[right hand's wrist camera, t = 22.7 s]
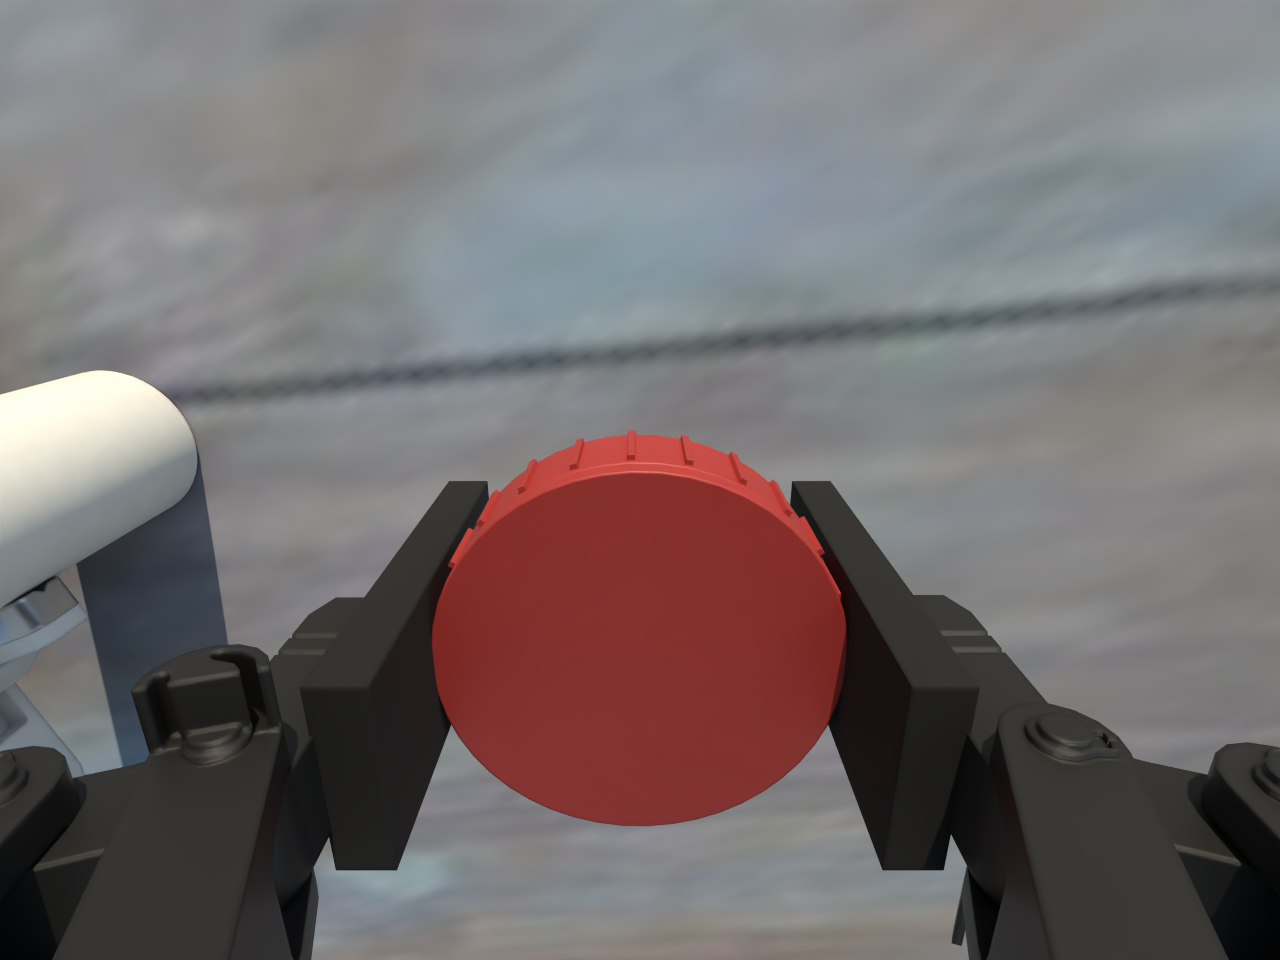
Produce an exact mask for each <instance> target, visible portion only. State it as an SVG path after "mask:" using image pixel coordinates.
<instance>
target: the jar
mask: <svg viewBox="0 0 1280 960" xmlns="http://www.w3.org/2000/svg"><path fill="white" fill-rule="evenodd" d="M196 470H197V450H196V444H195V441H194V438H193V435H192V432H191V430H190V428H189V426H188V424H187V422H186V420H185V419H184V417H183V416H182V414H181V413H180V412H179V410H178V409H177V408H176V407H175V406H174V404H173V403H172V402H171V401H170V400H169V399H168V398H166V397H165V396H164V395H163V394H162V393H161V392H159V391H158V390H156V389H155V388H154V387H152V386H150V385H149V384H147V383H145V382H143V381H141V380H139V379H137V378H134V377H132V376H129V375H125V374H122V373H117V372H112V371H90V372H85V373H81V374H77V375H73V376H69V377H65V378H62V379H58V380H54V381H50V382H46V383H43V384H39V385H35V386H31V387H28V388H24V389H20V390H16V391H12V392H9V393H5V394H1V395H0V609H1V608H2V607H4V606H5V605H7V604H9V603H10V602H12V601H14V600H15V599H17V598H19V597H20V596H22V595H24V594H26V593H28V592H29V591H31V590H33V589H34V588H36V587H37V586H39V585H41V584H42V583H44V582H46V581H47V580H49V579H51V578H53V577H54V576H56V575H58V574H59V573H61V572H63V571H65V570H66V569H68V568H70V567H71V566H73V565H75V564H76V563H78V562H80V561H81V560H83V559H85V558H86V557H88V556H90V555H91V554H93V553H95V552H96V551H98V550H100V549H101V548H103V547H105V546H107V545H108V544H110V543H112V542H113V541H115V540H117V539H118V538H120V537H122V536H123V535H125V534H127V533H128V532H130V531H132V530H133V529H135V528H137V527H138V526H140V525H142V524H144V523H145V522H147V521H149V520H150V519H152V518H154V517H155V516H157V515H159V514H160V513H162V512H164V511H165V510H167V509H169V508H170V507H172V506H174V505H175V504H176V503H178V502H179V501H180V500H181V499H182V498H183V497H184V496H185V495H186V494H187V492H188V491H189V489H190V488H191V485H192V483H193V481H194V478H195V475H196Z"/></svg>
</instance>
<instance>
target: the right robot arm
mask: <svg viewBox="0 0 1280 960" xmlns="http://www.w3.org/2000/svg"><path fill="white" fill-rule="evenodd" d="M488 500H489V495H488V483H487V481H449V482H448V484H447V485H446V486H445V488H444V489H443V490H442V492H441V493H440V495H439V496H438V497H437V499H436V500H435V501H434V503H433V504H432V505H431V507H430V508H429V510H428V511H427V512H426V514H425V515H424V516H423V518H422V519H421V521H420V522H419V523H418V525H417V526H416V527H415V529H414V530H413V532H412V533H411V534H410V536H409V537H408V538H407V540H406V541H405V543H404V544H403V545H402V547H401V548H400V549H399V551H398V552H397V553H396V555H395V556H394V558H393V559H392V560H391V562H390V563H389V564H388V566H387V567H386V569H385V570H384V571H383V573H382V574H381V575H380V577H379V578H378V580H377V581H376V582H375V584H374V585H373V586H372V588H371V589H370V591H369V592H368V593H367V595H366V596H365V597H364V598H335V599H333V600H332V601H330V602H328V603H327V604H325V605H324V606H322V607H320V608H319V609H317V610H316V611H314V612H312V613H311V614H309V615H308V616H307V618H306V619H305V620H304V621H303V622H302V624H301V625H300V626H299V627H298V628H297V630H296V631H295V632H294V633H293V634H292V638H289V639H288V640H287V641H286V643H285V644H284V645H283V646H282V647H281V649H280V650H279V654H278V655H275V656H274V657H273V658H272V659H271V661H270V662H269V658H268V655H266V654H265V653H264V652H262V651H261V650H260V649H258V648H256V647H251V646H246V645H240V644H236V645H219V646H213V647H209V648H204V649H200V650H196V651H192V652H189V653H186V654H184V655H181V656H179V657H176V658H174V659H172V660H169V661H167V662H165V663H163V664H161V665H160V666H158V667H157V668H155V669H154V670H152V671H151V672H149V673H147V674H146V675H144V676H143V677H142V678H141V680H140V681H139V682H138V683H137V684H136V685H135V686H134V687H133V688H132V689H131V693H132V696H133V700H134V703H135V706H136V710H137V713H138V716H139V720H140V723H141V726H142V730H143V733H144V736H145V740H146V743H147V746H148V750H149V753H150V754H149V756H148V758H147V760H146V762H143V763H139V764H136V765H132V766H127V767H122V768H117V769H113V770H108V771H103V772H99V773H94V774H89V775H84V776H80V777H75V778H73V777H72V774H71V772H70V769H69V766H68V763H67V760H66V757H65V756H64V755H63V754H62V753H60V752H59V751H57V750H56V749H55V748H51V747H41V746H28V747H22V748H15V749H9V750H4V751H0V960H311V956H312V948H313V940H314V932H315V924H316V915H317V907H318V899H319V897H318V889H317V882H316V877H315V873H314V868H313V867H314V865H315V863H316V861H317V859H318V857H319V855H320V853H321V851H322V849H323V847H324V845H325V843H326V841H327V839H328V837H329V838H330V843H331V848H332V853H333V858H334V863H335V868H336V870H397V869H398V866H399V863H400V861H401V858H402V855H403V853H404V850H405V847H406V844H407V842H408V839H409V836H410V834H411V831H412V828H413V826H414V823H415V820H416V818H417V815H418V812H419V810H420V807H421V804H422V802H423V799H424V796H425V794H426V791H427V788H428V786H429V783H430V780H431V778H432V775H433V772H434V769H435V767H436V764H437V761H438V759H439V756H440V753H441V751H442V748H443V745H444V743H445V740H446V737H447V735H448V732H449V729H450V727H451V723H450V721H449V719H448V718H447V715H446V713H445V710H444V708H443V705H442V703H441V700H440V698H439V695H438V691H437V684H436V676H435V668H434V659H433V650H432V626H433V621H434V617H435V613H436V608H437V604H438V601H439V598H440V596H441V593H442V591H443V588H444V585H445V583H446V580H447V578H448V576H449V575H450V573H451V571H452V569H453V568H451V567H448V565H449V563H450V561H451V559H452V557H453V555H454V553H455V552H456V550H457V548H458V546H459V544H460V543H461V541H462V539H463V537H464V535H465V534H466V532H467V530H468V528H471V529H473V530H474V528H475V526H476V525H477V524H476V523H477V521H478V519H479V517H480V515H481V513H482V511H483V510H484V508H485V506H486V504H487V502H488ZM790 506H791V507H792V509H793V510H794V512H795V513H796V514H797V516H798V517H799V518H801V517H803V516H804V517H805V519H806V520H807V522H808V524H809V526H810V527H811V529H812V531H813V533H814V535H815V536H816V538H817V540H818V542H819V544H820V545H821V547H822V549H823V551H824V554H823V555H821V556H820V557H821V558H822V559H823V561H824V563H825V564H826V566H827V568H828V570H829V572H830V574H831V575H832V577H833V579H834V581H835V583H836V585H837V587H838V588H839V590H840V592H841V595H842V599H840V601H841V604H842V607H843V610H844V614H845V620H846V627H847V633H848V644H847V653H846V663H845V671H844V679H843V686H842V691H841V695H840V698H839V701H838V704H837V707H836V709H835V711H834V713H833V715H832V717H831V719H830V721H829V723H828V725H829V728H830V730H831V733H832V736H833V738H834V741H835V744H836V747H837V749H838V752H839V755H840V757H841V760H842V763H843V765H844V768H845V771H846V773H847V776H848V779H849V781H850V784H851V787H852V789H853V792H854V795H855V797H856V800H857V803H858V806H859V808H860V811H861V814H862V816H863V819H864V822H865V824H866V827H867V830H868V832H869V835H870V838H871V840H872V843H873V846H874V848H875V851H876V854H877V856H878V859H879V862H880V864H881V867H882V870H944V866H945V861H946V856H947V851H948V846H949V841H950V836H951V835H952V837H953V839H954V841H955V843H956V845H957V847H958V849H959V851H960V853H961V855H962V857H963V859H964V860H965V862H966V864H967V868H966V873H965V877H964V882H963V887H962V891H961V896H960V901H959V905H958V910H957V915H956V919H955V924H954V930H953V937H952V943H953V944H956V945H960V946H962V942H963V937H964V933H965V930H966V938H967V946H968V954H969V960H1280V748H1278V747H1274V746H1267V745H1261V744H1254V743H1248V742H1247V743H1237V744H1227V745H1225V746H1224V747H1223V748H1221V749H1220V750H1219V751H1217V752H1216V753H1215V756H1214V758H1213V761H1212V764H1211V767H1210V770H1209V773H1208V775H1206V774H1201V773H1197V772H1192V771H1187V770H1182V769H1178V768H1173V767H1168V766H1163V765H1159V764H1154V763H1149V762H1145V761H1141V760H1138V759H1134V758H1133V757H1132V754H1131V752H1130V751H1129V750H1128V749H1127V747H1126V746H1125V745H1124V743H1123V742H1122V741H1121V739H1120V738H1119V737H1118V736H1117V735H1116V734H1114V733H1113V732H1112V731H1110V730H1109V729H1107V728H1106V727H1105V726H1103V725H1102V724H1101V723H1099V722H1098V721H1096V720H1094V719H1091V718H1089V717H1087V716H1085V715H1083V714H1081V713H1079V712H1077V711H1075V710H1071V709H1067V708H1064V707H1060V706H1056V705H1053V704H1048V703H1047V702H1046V701H1045V699H1044V698H1043V697H1042V696H1041V695H1040V693H1039V692H1038V691H1037V690H1036V689H1035V688H1034V686H1033V685H1032V684H1031V683H1030V682H1029V680H1028V679H1027V678H1026V677H1025V676H1024V674H1023V673H1022V672H1021V671H1020V670H1019V669H1018V667H1017V666H1016V665H1015V664H1014V663H1013V661H1012V660H1011V659H1010V658H1009V657H1008V656H1007V654H1006V653H1002V651H1001V647H1000V646H999V645H998V644H997V642H996V641H995V640H994V639H993V638H992V637H991V636H988V634H987V633H988V632H987V631H986V629H985V628H984V627H983V626H982V625H981V624H980V622H979V621H978V620H977V619H976V618H975V616H974V615H973V614H972V613H971V612H970V611H968V610H967V609H965V608H963V607H962V606H960V605H959V604H957V603H955V602H954V601H952V600H951V599H949V598H947V597H946V596H944V595H913V594H912V593H911V591H910V590H909V588H908V587H907V586H906V584H905V583H904V582H903V580H902V579H901V577H900V576H899V575H898V573H897V572H896V571H895V569H894V568H893V566H892V565H891V564H890V562H889V561H888V560H887V558H886V557H885V556H884V554H883V553H882V551H881V550H880V549H879V547H878V546H877V545H876V543H875V542H874V540H873V539H872V538H871V536H870V535H869V534H868V532H867V531H866V529H865V528H864V527H863V525H862V524H861V523H860V521H859V520H858V518H857V517H856V516H855V514H854V513H853V512H852V510H851V509H850V507H849V506H848V505H847V503H846V502H845V501H844V499H843V498H842V497H841V495H840V494H839V492H838V491H837V490H836V488H835V487H834V486H833V484H832V483H831V481H792V490H791V502H790Z"/></svg>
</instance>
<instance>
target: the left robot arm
mask: <svg viewBox="0 0 1280 960" xmlns="http://www.w3.org/2000/svg"><path fill="white" fill-rule="evenodd" d="M88 617H89V616H88V614H87V613H86V612H85V611H84V609H83V608H82V607H81V606H80V604H79V602H78V601H77V600H76V598H75V597H74V596H73V595H72V593H71V592H70V591H69V589H68V588H67V587H66V586H65V584H64V583H63V582H62V580H61V579H60V578H59V577H58V576H55V577H53V578H51V579H49V580H47V581H46V582H44V583H42V584H41V585H39V586H37V587H36V588H34V589H33V590H31V591H29V592H28V593H26V594H24V595H22V596H20V597H19V598H17V599H15V600H14V601H12V602H10V603H9V604H7V605H5V606H4V607H2V608H1V609H0V751H4V750H9V749H15V748H22V747H28V746H41V747H51V748H55V749H56V750H57V751H59V752H60V753H62V754H63V755H64V756H65V757H66V760H67V763H68V766H69V769H70V772H71V774H72V777H73V778H75V777H80V776H84V770H83V767H82V765H81V764H80V762H79V761H78V759H77V758H76V756H75V755H74V754H73V753H72V752H71V751H70V749H69V748H68V747H67V746H66V744H65V743H64V742H63V741H62V740H61V738H60V737H59V736H58V735H57V733H56V732H55V731H54V730H53V729H52V727H51V726H50V725H49V724H48V722H47V721H46V720H45V719H44V717H43V716H42V715H41V714H40V712H39V711H38V710H37V709H36V707H35V706H34V705H33V704H32V702H31V701H30V700H29V699H28V697H27V696H26V695H25V694H24V692H23V691H22V690H21V689H20V687H19V686H18V685H17V684H16V683H15V682H16V681H18V680H19V679H21V678H22V677H23V676H25V675H26V674H27V673H28V671H29V669H30V668H31V666H32V664H33V662H34V660H35V659H36V657H37V655H38V653H39V651H40V650H41V649H42V648H44V647H46V646H47V645H49V644H51V643H53V642H55V641H56V640H58V639H60V638H61V637H63V636H64V635H65V634H67V633H68V632H70V631H71V630H72V629H74V628H75V627H77V626H78V625H79V624H81V623H82V622H84V621H85V620H86V619H87V618H88Z"/></svg>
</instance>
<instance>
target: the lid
mask: <svg viewBox="0 0 1280 960" xmlns="http://www.w3.org/2000/svg"><path fill="white" fill-rule="evenodd" d="M476 524H477V525H476V526H475V528H474V530H473V529H471V528H468V530H467V532H466V534H465V535H464V537H463V539H462V541H461V543H460V544H459V546H458V548H457V550H456V552H455V553H454V555H453V557H452V559H451V561H450V563H449V565H448V567H451V568H453V569H452V571H451V573H450V575H449V576H448V578H447V580H446V583H445V585H444V588H443V591H442V593H441V596H440V598H439V601H438V604H437V608H436V613H435V617H434V621H433V626H432V650H433V659H434V668H435V676H436V684H437V691H438V695H439V698H440V700H441V703H442V705H443V708H444V710H445V713H446V715H447V718H448V719H449V721H450V723H451V724H452V726H453V728H454V730H455V731H456V733H457V735H458V736H459V738H460V739H461V741H462V742H463V743H464V744H465V746H466V747H467V748H468V750H469V751H470V752H471V753H472V755H473V756H474V757H475V758H476V759H477V760H478V761H479V762H480V763H481V764H482V765H483V766H484V767H485V768H486V769H487V770H488V771H489V772H490V773H492V774H493V775H494V776H495V777H497V778H498V779H499V780H501V781H502V782H503V783H504V784H506V785H507V786H508V787H510V788H511V789H513V790H515V791H516V792H518V793H520V794H521V795H523V796H525V797H526V798H528V799H530V800H532V801H534V802H536V803H538V804H541V805H543V806H545V807H547V808H549V809H551V810H554V811H557V812H560V813H563V814H566V815H569V816H572V817H576V818H580V819H584V820H589V821H593V822H598V823H605V824H614V825H622V826H654V825H666V824H675V823H680V822H685V821H691V820H696V819H699V818H703V817H706V816H710V815H713V814H716V813H720V812H722V811H724V810H727V809H729V808H732V807H734V806H737V805H739V804H741V803H743V802H745V801H747V800H749V799H751V798H752V797H754V796H756V795H758V794H760V793H762V792H763V791H765V790H766V789H767V788H769V787H770V786H772V785H773V784H775V783H776V782H777V781H779V780H780V779H782V778H783V777H784V776H785V775H786V774H787V773H788V772H790V771H791V770H792V769H793V768H794V767H795V766H796V765H797V764H798V763H800V761H801V760H802V759H803V758H804V757H805V756H806V754H807V753H808V752H809V751H810V750H811V749H812V747H813V746H814V745H815V744H816V742H817V741H818V739H819V738H820V736H821V735H822V733H823V732H824V730H825V729H826V727H827V725H828V723H829V721H830V719H831V717H832V715H833V713H834V711H835V709H836V707H837V704H838V701H839V698H840V695H841V691H842V686H843V679H844V671H845V663H846V653H847V644H848V633H847V627H846V620H845V614H844V610H843V607H842V604H841V601H840V599H842V595H841V592H840V590H839V588H838V587H837V585H836V583H835V581H834V579H833V577H832V575H831V574H830V572H829V570H828V568H827V566H826V564H825V563H824V561H823V559H822V558H821V557H820V556H821V555H823V554H824V551H823V549H822V547H821V545H820V544H819V542H818V540H817V538H816V536H815V535H814V533H813V531H812V529H811V527H810V526H809V524H808V522H807V520H806V519H805V517H804V516H803V517H801V518H799V517H798V516H797V514H796V513H795V512H794V510H793V509H792V507H791V506H790V504H789V503H788V502H787V500H786V499H785V497H784V495H783V493H782V491H781V489H780V488H779V486H778V484H777V483H776V482H775V481H774V480H772V481H771V482H770V483H769V482H768V481H767V480H765V479H764V478H763V477H762V476H760V475H759V474H758V473H757V472H755V471H754V470H753V469H751V468H750V467H748V466H746V465H745V464H743V463H741V462H740V460H739V458H738V456H737V454H735V453H733V452H731V453H730V454H729V455H727V454H725V453H722V452H720V451H718V450H715V449H713V448H711V447H708V446H705V445H702V444H698V443H695V442H691V441H689V437H688V436H686V435H681V439H678V438H672V437H665V436H658V435H636V432H635V430H634V431H628V435H625V436H615V437H606V438H601V439H597V440H593V441H588V442H584V441H583V438H582V439H578V440H576V443H575V446H572V447H569V448H567V449H564V450H561V451H559V452H556V453H554V454H553V455H551V456H549V457H547V458H545V459H543V460H541V461H539V462H537V461H536V459H533V460H532V461H530V462H529V464H528V466H527V469H526V471H524V472H523V473H521V474H520V475H519V476H517V477H516V478H515V479H514V480H513V481H511V482H510V483H509V484H508V485H507V486H506V487H505V488H504V489H503V490H502V491H501V492H499V491H497V490H495V491H494V492H493V493H492V495H491V497H490V498H489V500H488V502H487V504H486V506H485V508H484V510H483V511H482V513H481V515H480V517H479V519H478V521H477V523H476Z"/></svg>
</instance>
